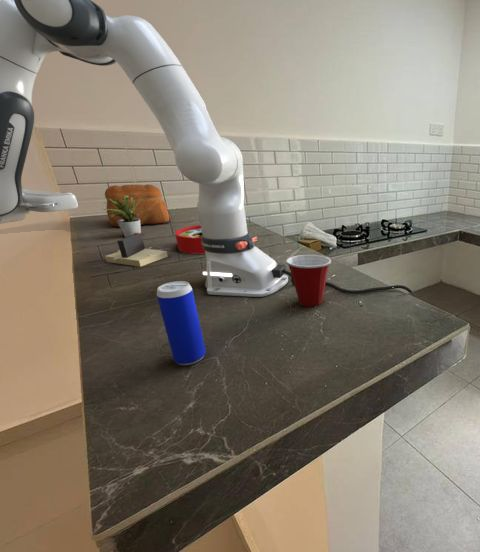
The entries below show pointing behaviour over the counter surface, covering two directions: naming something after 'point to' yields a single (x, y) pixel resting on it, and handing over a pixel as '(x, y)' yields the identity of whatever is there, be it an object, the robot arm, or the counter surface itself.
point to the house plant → (126, 216)
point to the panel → (137, 257)
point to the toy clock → (190, 240)
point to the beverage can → (181, 322)
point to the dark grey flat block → (131, 245)
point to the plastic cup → (309, 277)
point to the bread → (148, 200)
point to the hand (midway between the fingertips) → (68, 195)
